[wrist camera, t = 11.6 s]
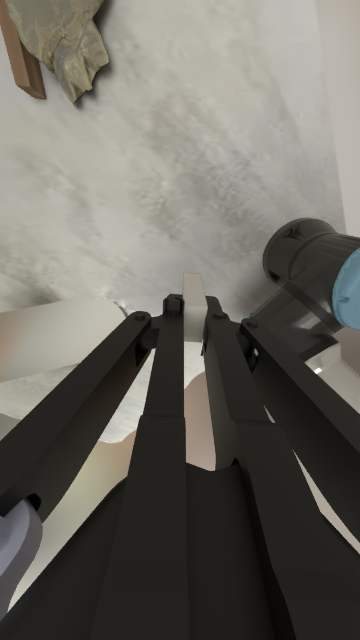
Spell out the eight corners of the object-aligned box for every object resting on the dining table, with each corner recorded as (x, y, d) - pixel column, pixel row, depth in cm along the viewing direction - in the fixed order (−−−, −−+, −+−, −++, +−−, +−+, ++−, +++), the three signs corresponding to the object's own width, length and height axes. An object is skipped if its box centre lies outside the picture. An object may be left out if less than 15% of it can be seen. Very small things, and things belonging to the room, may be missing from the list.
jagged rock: (55, 62, 31) (86, 121, 32) (-30, -25, 21) (18, 64, 22) (111, -45, 25) (148, 34, 26) (25, -232, 15) (89, -96, 16)
